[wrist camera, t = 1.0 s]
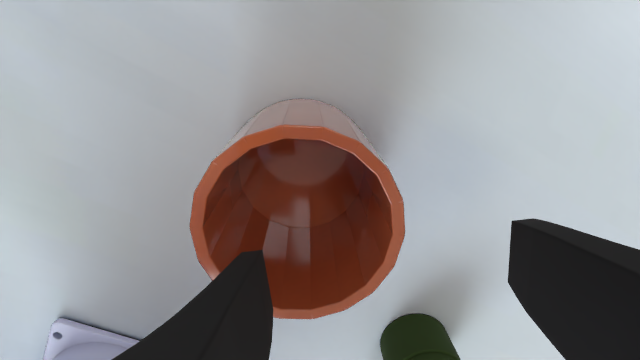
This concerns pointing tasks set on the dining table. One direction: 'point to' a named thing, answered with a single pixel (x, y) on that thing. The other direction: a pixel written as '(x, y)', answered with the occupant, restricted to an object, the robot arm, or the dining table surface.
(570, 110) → the dining table surface
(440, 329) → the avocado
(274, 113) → the cup
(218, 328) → the robot arm
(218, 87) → the dining table surface
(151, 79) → the dining table surface
